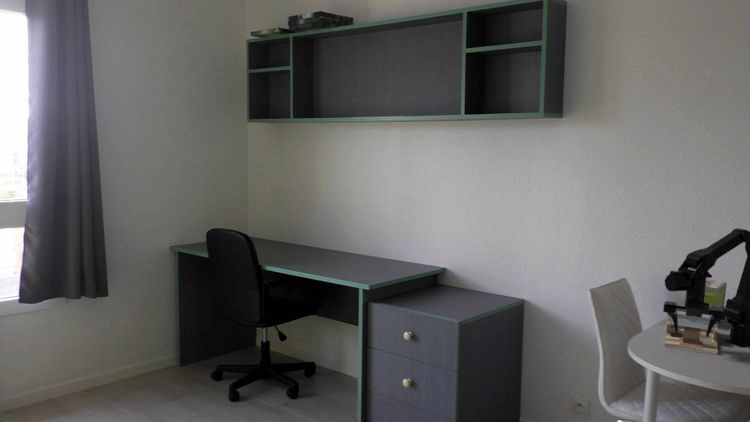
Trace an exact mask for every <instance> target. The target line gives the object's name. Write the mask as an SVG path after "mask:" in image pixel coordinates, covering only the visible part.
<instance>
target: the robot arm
mask: <svg viewBox="0 0 750 422" xmlns="http://www.w3.org/2000/svg"><path fill="white" fill-rule="evenodd" d="M743 243H744V249H745V253H746V260H745V263H744V266H743V270H742V273H741V277H740V279H739V283H738V285H737V289H736V294H735V295H734V296H733V297H732V298H731V299H730V298H727V299H726V300H725V301H726V302H725V305H724V308H717V307H712V310H710V309H709V303H704V299H705V288H706V279H709V278H713V275H712V274H711V273H710V272H709V270H711V269H712V268H713V267H714V266H715V265H716V264H717V260H719V258H721V257H723V256H725V255H726V254H728V253H729V252H731V251H733V250H734V249H736V248H737V247H738V246H739V245H742V244H743ZM664 286H665V289H666V290H667V291H668V292H685V300H684V305H680V304H679V305H677V301H676V302H675V301H669V300H666V301H664V303H663V311H662V312H663V313H666V315H668V316H669V315H670V316H671V317H672V319H671V321H672V322H673V325H674V326H675V330H676V333H675V334H679V333H678V325H679V321H678V319H679V318H677V311H682V312H686V315H687V316H696V317H702V314H705V315H710V319H709V324H707V328H706V329H707V333H706V337H705V338H707V337H708V336H709V333H710V331H711V330H713V328H712V327H713V326H714V325H715V323H716V322H718V323H720V322H721V321H720V320H725V316H726V318H727V320H726V322H727V324H730V326H731V324H732V326H731V328H730V332H729V339H725V341H726V342H727V343H730V344H733V345H736V346H737V347H741V348H742V347H750V230H747V229H744V228H740V227H738V228H734V229H733V230H732V231H731V232H729V233H728V234H726V235H724V236H723V237H722V238H720V239H719V240H717V241H715V242H714V243H712V244H710V245H709V246H708V247H705V248H701V249H699V248H698V249H697V250H694V251H692V252H689V253H688V254H687V255H686V257H685V259H684V261H682V263H681V265H680V266H679V267H678V269H677V270H676V271H675V270H670V271H669V274H667V275H666V277H665V279H664Z"/></svg>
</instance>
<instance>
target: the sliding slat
mask: <svg viewBox="0 0 750 422" xmlns="http://www.w3.org/2000/svg"><path fill="white" fill-rule="evenodd" d="M668 317H671V316H670V315H668ZM668 317H667V318H668ZM677 318H678V319H680V320H681V319H682V320H688V321H691V320H694V321H693V322H696V321H702V322H709V319H710V315H705V314H702V317H696V316H687V315H686V312H682V311H677ZM716 324H717V325H718V323H717V322H716Z"/></svg>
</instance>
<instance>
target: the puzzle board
mask: <svg viewBox="0 0 750 422" xmlns="http://www.w3.org/2000/svg"><path fill="white" fill-rule="evenodd" d="M718 332H719V329H718V323H717V324H716V323H715V325H714V326H713V328H712V329H711V331H710V333H709V336H708V337H706V333H707V328H706V329H705V328H701V330H700V338H707V339H711V342H708V341H703V340H700V342H699V345H694V344H688V343H683V337H676V336H675V337H674V336H672V333H673V334H680V335H684V325H679V324H678V333H676V330H675V326H674V324H672V317H667V324H666V331H665V338H664V346H665V347H664V348H673V349H677V350H678V349H679V350H685V351H690V352H695V353H696V352H697V353H704V354H711V355H716V356H717V355H718V352H719V351H718V335H719V333H718Z"/></svg>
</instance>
